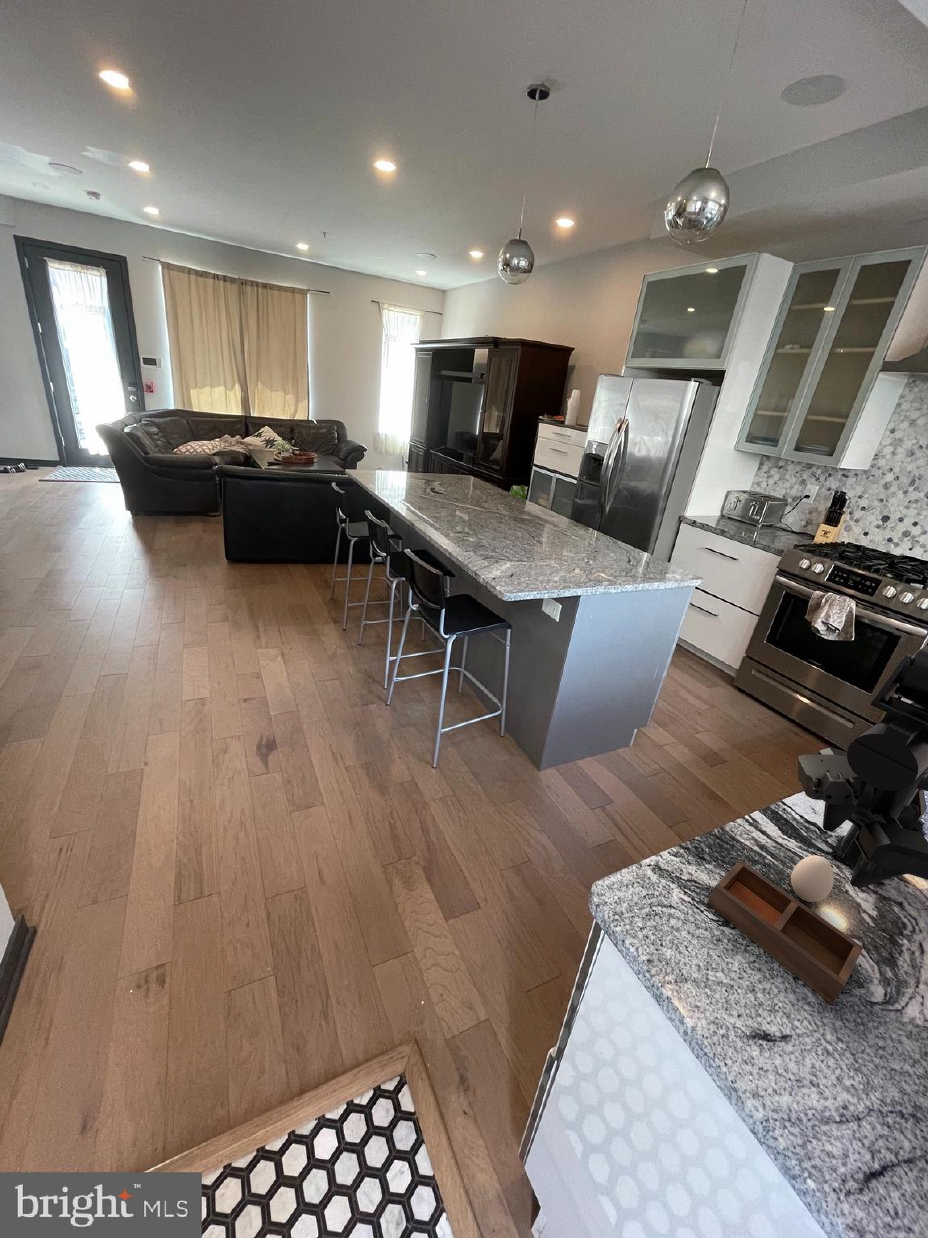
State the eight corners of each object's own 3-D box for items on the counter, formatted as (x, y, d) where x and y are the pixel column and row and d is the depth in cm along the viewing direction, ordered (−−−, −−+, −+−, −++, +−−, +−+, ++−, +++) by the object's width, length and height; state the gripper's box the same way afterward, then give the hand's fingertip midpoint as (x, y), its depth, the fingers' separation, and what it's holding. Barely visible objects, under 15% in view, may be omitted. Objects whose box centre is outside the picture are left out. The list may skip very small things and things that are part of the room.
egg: (812, 917, 70) (835, 879, 67) (778, 891, 74) (798, 853, 71) (826, 902, 73) (848, 865, 70) (792, 877, 76) (812, 841, 73)
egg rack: (731, 876, 75) (740, 859, 73) (851, 965, 64) (863, 947, 63) (706, 904, 70) (714, 886, 68) (831, 1005, 59) (844, 986, 58)
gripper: (797, 699, 68) (754, 789, 74) (853, 787, 51) (793, 895, 57) (890, 722, 66) (838, 813, 72) (981, 823, 49) (904, 931, 55)
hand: (840, 856), depth 64 cm, fingers open, 9 cm apart
